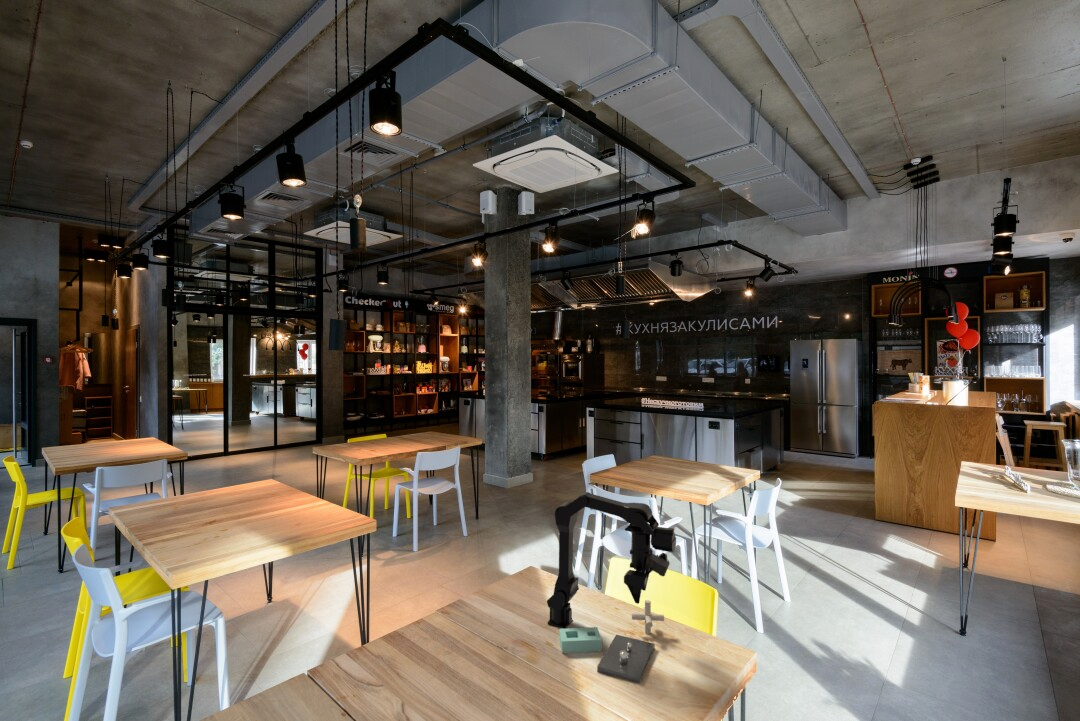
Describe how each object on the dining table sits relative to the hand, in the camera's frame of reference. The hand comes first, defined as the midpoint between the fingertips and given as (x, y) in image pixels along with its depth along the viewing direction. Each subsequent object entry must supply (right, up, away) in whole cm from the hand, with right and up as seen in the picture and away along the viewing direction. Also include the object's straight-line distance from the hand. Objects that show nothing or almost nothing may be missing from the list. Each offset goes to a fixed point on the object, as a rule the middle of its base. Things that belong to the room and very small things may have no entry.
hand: (640, 596), depth 157 cm
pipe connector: (+3, -14, +6) cm, 16 cm away
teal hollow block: (-19, -14, -1) cm, 24 cm away
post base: (-6, -14, -9) cm, 18 cm away
